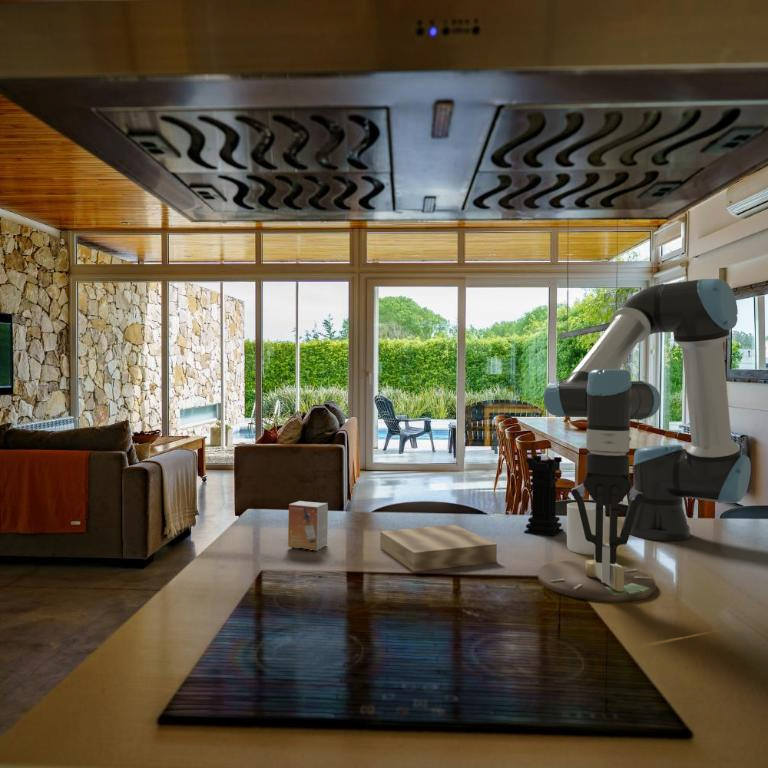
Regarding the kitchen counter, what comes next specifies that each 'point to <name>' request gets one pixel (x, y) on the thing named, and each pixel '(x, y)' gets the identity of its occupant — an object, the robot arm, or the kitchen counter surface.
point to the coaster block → (437, 547)
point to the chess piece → (543, 497)
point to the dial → (594, 583)
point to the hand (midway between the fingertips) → (605, 580)
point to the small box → (308, 525)
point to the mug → (575, 528)
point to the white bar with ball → (615, 574)
